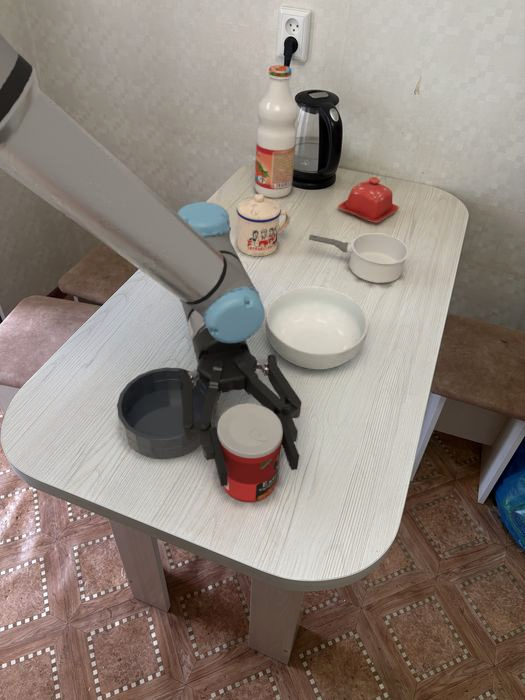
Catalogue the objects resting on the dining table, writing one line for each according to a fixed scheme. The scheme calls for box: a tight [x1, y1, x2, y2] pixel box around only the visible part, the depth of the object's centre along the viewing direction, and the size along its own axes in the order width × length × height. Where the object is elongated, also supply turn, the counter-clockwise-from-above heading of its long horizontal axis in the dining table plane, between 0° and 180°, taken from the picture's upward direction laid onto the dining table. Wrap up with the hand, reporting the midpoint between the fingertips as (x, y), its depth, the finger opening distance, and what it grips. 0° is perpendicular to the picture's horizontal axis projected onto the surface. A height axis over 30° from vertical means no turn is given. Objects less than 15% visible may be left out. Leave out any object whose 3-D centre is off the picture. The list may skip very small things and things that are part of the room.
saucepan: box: [308, 232, 410, 284], centre depth 103 cm, size 12×20×6 cm, turn 76°
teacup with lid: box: [235, 193, 291, 257], centre depth 105 cm, size 12×9×12 cm
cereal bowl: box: [264, 285, 369, 370], centre depth 84 cm, size 17×17×7 cm
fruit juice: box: [254, 64, 299, 199], centre depth 119 cm, size 9×9×28 cm
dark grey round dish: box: [116, 366, 215, 460], centre depth 72 cm, size 13×13×4 cm
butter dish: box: [337, 176, 400, 224], centre depth 119 cm, size 12×12×8 cm
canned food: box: [216, 402, 283, 503], centre depth 64 cm, size 8×8×11 cm
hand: (260, 470), depth 58 cm, fingers closed on canned food, 8 cm apart
